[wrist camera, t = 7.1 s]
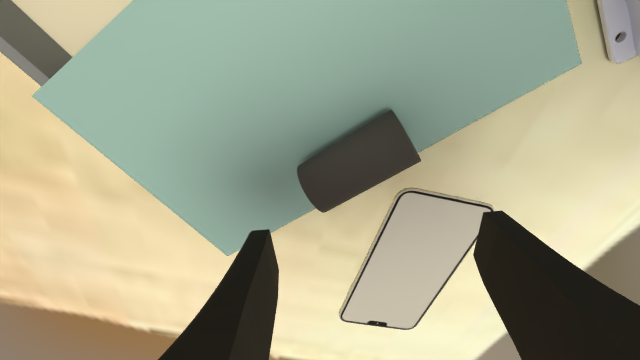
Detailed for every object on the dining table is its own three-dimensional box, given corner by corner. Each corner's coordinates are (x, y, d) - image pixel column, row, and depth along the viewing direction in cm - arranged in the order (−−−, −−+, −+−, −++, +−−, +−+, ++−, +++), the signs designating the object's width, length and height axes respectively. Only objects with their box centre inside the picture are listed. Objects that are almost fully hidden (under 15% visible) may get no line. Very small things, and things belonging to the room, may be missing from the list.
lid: (573, 59, 16) (625, 84, 13) (229, 248, 22) (218, 291, 19) (474, -318, 10) (535, -410, 7) (40, 91, 16) (-12, 122, 13)
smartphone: (500, 207, 24) (413, 331, 33) (496, 201, 25) (411, 325, 33) (401, 186, 23) (336, 321, 31) (398, 180, 24) (335, 314, 32)
